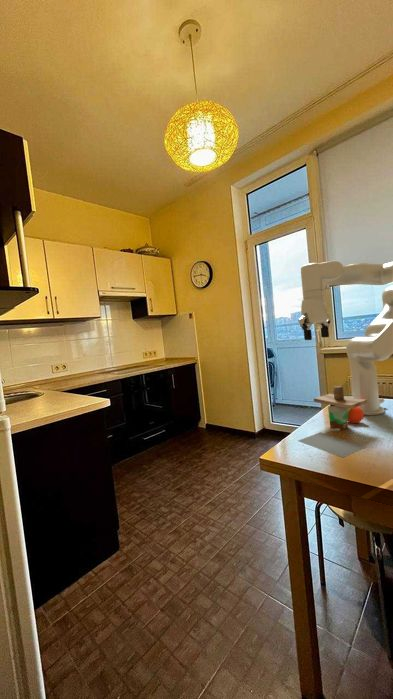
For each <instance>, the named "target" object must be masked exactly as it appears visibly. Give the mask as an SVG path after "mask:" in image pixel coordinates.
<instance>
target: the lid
mask: <svg viewBox="0 0 393 699" xmlns="http://www.w3.org/2000/svg"><path fill="white" fill-rule="evenodd" d="M332 389H333V393H327V394H324V395H320V396H317V397H315V398H314V397H313V402H315V403H319V404H325V405H329V406H330V405H334V406H339V407H344V408H349V409H352V408H355V407H358V406H361V405H363V404H366V403H367V400H365V399H359V398H353V396H346V395H344V394H345V393H344V386H342V385H335V386H333V387H332Z"/></svg>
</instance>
